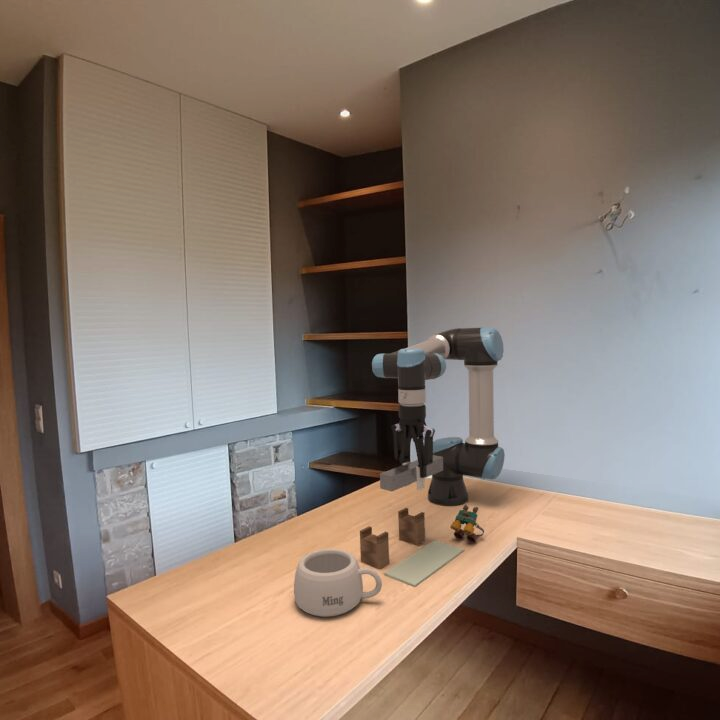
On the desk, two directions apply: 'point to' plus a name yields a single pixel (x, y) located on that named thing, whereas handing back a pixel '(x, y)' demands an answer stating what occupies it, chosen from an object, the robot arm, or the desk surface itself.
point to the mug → (331, 582)
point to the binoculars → (470, 522)
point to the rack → (378, 546)
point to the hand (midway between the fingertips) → (413, 486)
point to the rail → (407, 474)
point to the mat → (423, 563)
